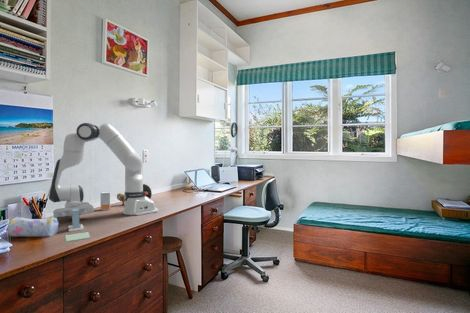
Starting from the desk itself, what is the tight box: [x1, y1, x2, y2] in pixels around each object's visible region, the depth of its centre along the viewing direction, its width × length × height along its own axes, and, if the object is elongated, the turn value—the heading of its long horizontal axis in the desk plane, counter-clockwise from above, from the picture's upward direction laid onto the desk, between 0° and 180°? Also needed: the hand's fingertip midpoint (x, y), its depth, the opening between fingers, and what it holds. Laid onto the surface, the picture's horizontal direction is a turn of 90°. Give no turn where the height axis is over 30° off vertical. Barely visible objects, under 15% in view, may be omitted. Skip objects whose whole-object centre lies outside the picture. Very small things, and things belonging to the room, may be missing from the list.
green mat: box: [65, 231, 91, 243], centre depth 137 cm, size 10×10×1 cm
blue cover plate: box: [71, 209, 80, 229], centre depth 149 cm, size 3×4×10 cm, turn 32°
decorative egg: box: [143, 183, 153, 200], centre depth 215 cm, size 12×12×15 cm
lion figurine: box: [116, 192, 125, 206], centre depth 212 cm, size 15×5×9 cm, turn 115°
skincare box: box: [100, 191, 111, 211], centre depth 196 cm, size 6×4×12 cm
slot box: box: [67, 223, 85, 233], centre depth 149 cm, size 7×8×2 cm
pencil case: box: [6, 216, 61, 238], centre depth 139 cm, size 21×9×10 cm, turn 93°
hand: (74, 213), depth 159 cm, fingers open, 8 cm apart
